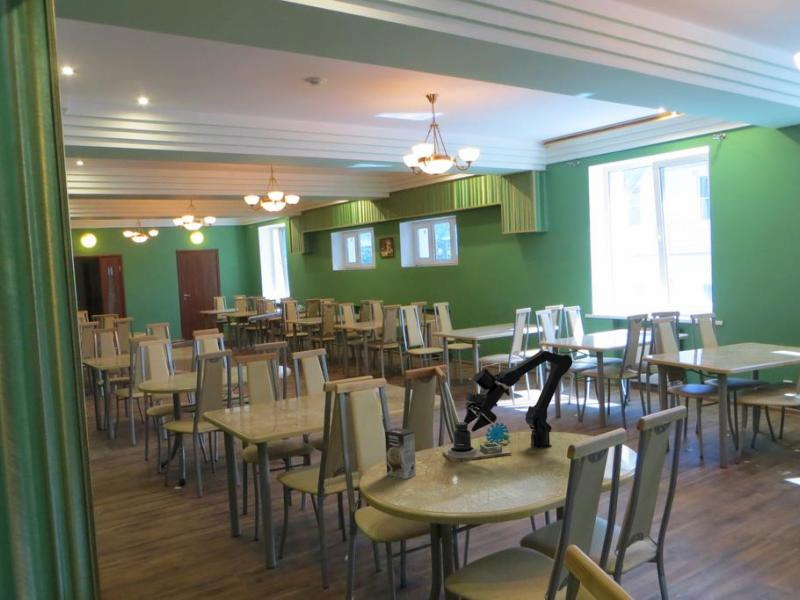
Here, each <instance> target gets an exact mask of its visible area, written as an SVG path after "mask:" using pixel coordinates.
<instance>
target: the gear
mask: <svg viewBox="0 0 800 600" xmlns="http://www.w3.org/2000/svg"><path fill="white" fill-rule="evenodd" d="M490 428H491V429H490ZM487 432H488V433H487ZM508 433H509V430H508V426H507V425H505V424H504V422H500V423H499V422H496V423H495V425H494V424H490V427H488V429H486V433H485V437H486V441H487V442H489V443H495V442H496V443H497V444H498V443H499V442H500V443H501V442H504V441H507V442H508V443H510V442H511V441H510V438H511V436H510V434H508Z"/></svg>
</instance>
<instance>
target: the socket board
mask: <svg viewBox="0 0 800 600" xmlns="http://www.w3.org/2000/svg"><path fill="white" fill-rule="evenodd" d="M443 454H444V455H445V456H444V455H443ZM511 454H512V451H510V450H508V449H507V448H506V447H504V446H502V445H500V444H497V443H496V442H495V443H494V442H493V443H490V442H487V443H480V444H479V447H475V446H473V445H471V451H468V452H455V451H454V446H450V447H448V449H447V451H442V455H443V456H444V457H445V458H447V459H448V458H449V459H450V461H451V462H452V463H457V462H456V461H460V462H464V461H463V460H468V461H471V460H470V459H476V460H480V459H479V458H484V459H489V458H488V457H491V458H496V457H495V456H499V457H504V456H503V455H507V456H512V455H511ZM449 459H448V460H449Z"/></svg>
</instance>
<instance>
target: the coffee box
mask: <svg viewBox="0 0 800 600" xmlns="http://www.w3.org/2000/svg"><path fill="white" fill-rule="evenodd" d="M384 440H385V442H384V443H385V455H386V456H385V459H386V460H385V462H386V475H387V476H389V477H390V476H391V477H395V478H399V479H403V480H406V479H409V478H411V477H414V476H417V471H416V470H417V469H416V449H415V448H416V444H415V443H416V442H415V440H416V439H415V431H414V430H410V429H409V430H408V429H403V428H399V427H395V428H391V429H388V430H385V431H384Z"/></svg>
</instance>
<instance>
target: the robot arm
mask: <svg viewBox="0 0 800 600" xmlns="http://www.w3.org/2000/svg"><path fill="white" fill-rule="evenodd" d="M545 362H549V363H550V365H549V366H550V370H549V371H550V373H549V375H548V376H547V379H546V381H545V384H544V386H543V388H542V389H541V391H540V392H541V393H540V395H539V397H538V399H537V401H536V403H535V405H533V406H531V405H530V406H528V409H527V411H526V412H525V415H524V416H525V418H524V419H525V422H526V423H525V424H527V425H528V426H529V428H530V430H531V434H530V445H531V446H532V447H534V448H537V449H540V448H541V449H543V448H549V447H553V445H552V444H550V433H551V432H552V426H551V425H550V424H549V423H548V422H547V420H548V419H547V418H548V408H549V406H550V404H551V401H552V399H553V397H554V395H555V393H556V391H557V388H558V386H559V385H560V381H561V380H562V378H563V376H564V375H565V374H567V373H568V371H569V370H570V369H571V367H572V365H573V359H572V357H571V356H570V355H569V354H566V353H565V354H564V353H553V352H550V351H548V350H545V349H541V350H539V351H538V352H537V353H535V354H534V355H531V356H530V357H528V358H527V359H525V360H524V361H522V362H520V363H519V364H517V365H515V366H512V367H508V368H505V369H502V370H500V371H499V372H498V373H495V374H492V373H491V372H490V371H489V370H488V369H487V368H485V367H484V368H482V370H481V369H480V371H478V372H477V373H476V374H474V376H473V379H472V381H473V382H474V383H475V384H477V385H478V386H479V387H480V388H481V389H482V390H483V391H486V390H487V391H486V392H485V393H482V394H481V393H478V392H476V393H473V392H470V391H468V392H467V395H466V398H465V400H466V401H467V402H466V403H465V410H466V415H465V417H464V419H463V421H462V422H466V423H468V425H469V424H471V423H472V422H474V421H475V420H476V419H477V420H476V421H475V423H474V424H473V426H472V427H471V429H470V430H471V431H470V432H472V433H474V432H476V431H478V430H480V429H482V428H484V427H486V426H488V425H492V423H493V424H495V422H497V419H498V418H497V415H496V414H495V413H494V412H493V411H492V410H493V409H494V408H495V407H496V408H497V407H498V402H499V401H500V400H501V398H502V397H503V396H504V395H505V396H508V397H509V396H510V387H513V386H515V385H516V384H517V383H518V382H519V381H520V380H521V378H522V377H523V376H524V375H525V374H527V373H529V372H530V371H532V370H534V369H535V368H537V367H538V366H541V365H542V364H543V363H545ZM504 386H507V387H504ZM508 387H509V388H508Z"/></svg>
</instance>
